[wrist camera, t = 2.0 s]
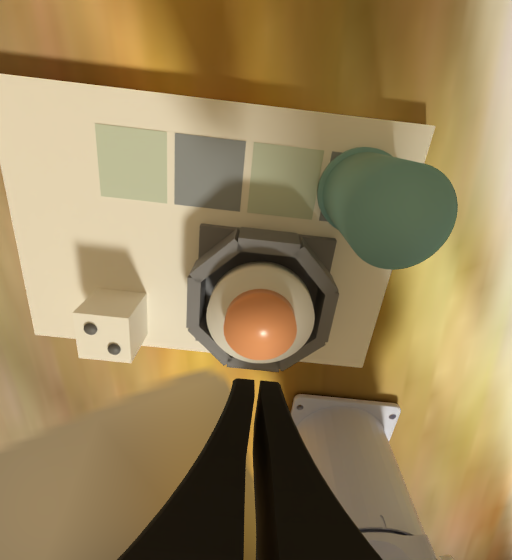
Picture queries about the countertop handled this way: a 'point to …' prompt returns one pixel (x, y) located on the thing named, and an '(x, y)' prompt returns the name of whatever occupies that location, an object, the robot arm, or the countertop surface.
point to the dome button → (260, 312)
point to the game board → (180, 214)
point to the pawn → (387, 206)
